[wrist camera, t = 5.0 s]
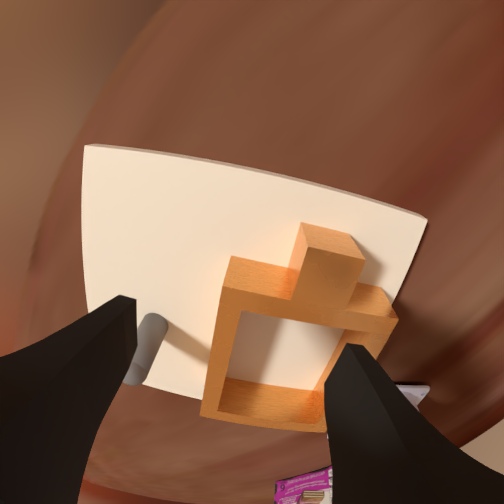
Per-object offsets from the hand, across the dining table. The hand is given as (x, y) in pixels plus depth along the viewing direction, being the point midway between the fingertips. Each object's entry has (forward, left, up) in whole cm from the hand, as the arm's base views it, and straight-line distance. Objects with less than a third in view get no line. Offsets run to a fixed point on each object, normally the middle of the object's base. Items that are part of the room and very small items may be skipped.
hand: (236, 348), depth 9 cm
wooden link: (-7, -4, -9) cm, 12 cm away
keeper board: (-6, +1, -10) cm, 12 cm away
